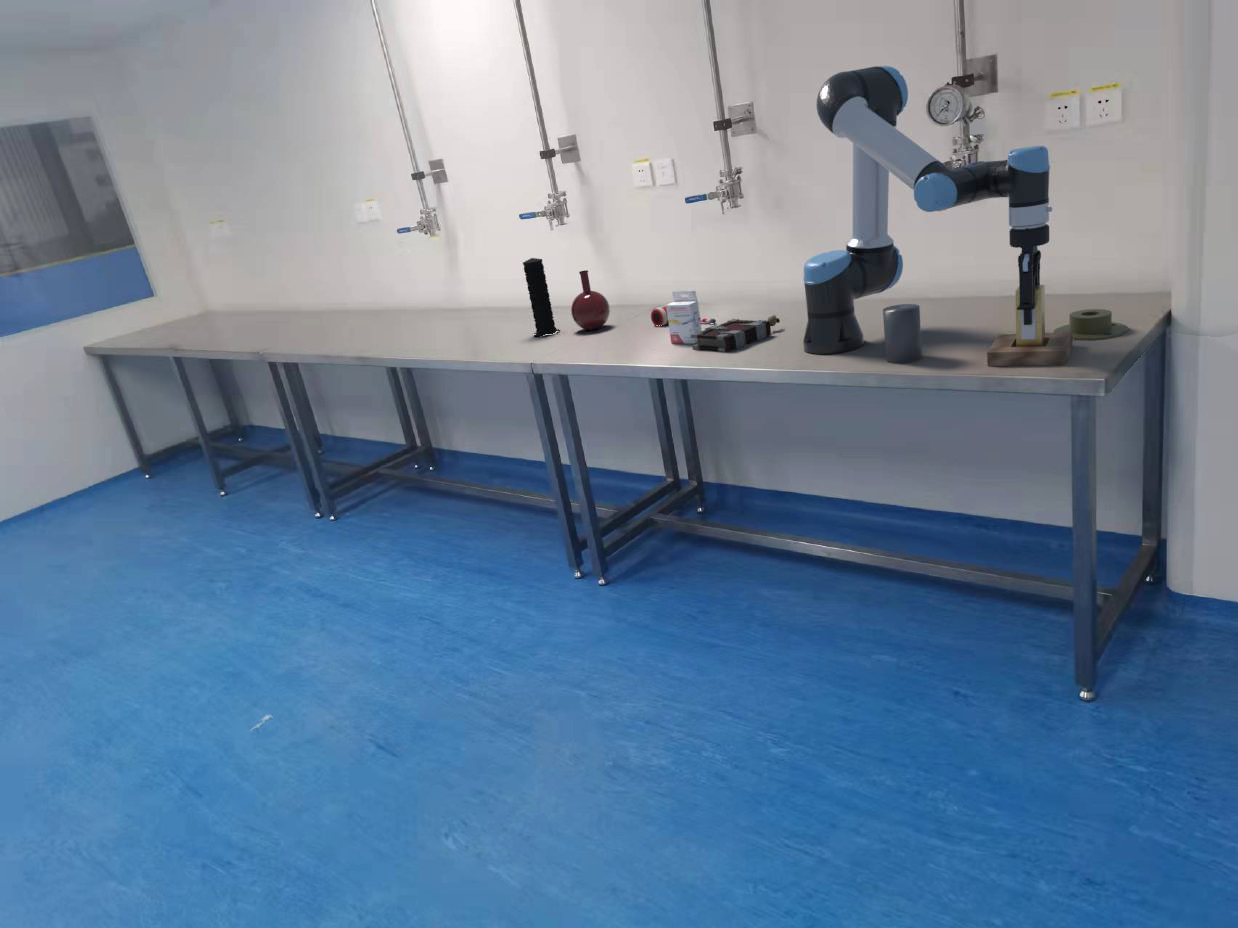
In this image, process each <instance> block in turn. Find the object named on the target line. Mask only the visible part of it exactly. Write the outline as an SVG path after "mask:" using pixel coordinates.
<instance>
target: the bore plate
mask: <svg viewBox="0 0 1238 928" xmlns="http://www.w3.org/2000/svg"><path fill="white" fill-rule="evenodd" d="M1073 342H1074V340H1073V332H1061V333H1054V332H1045V341H1044V343H1043V345H1042V346H1020V347H1016V333H1013V334H1012V333H1008V334H1007V333H1006V334H1005V333H1004V334H998V335H997V337H996V338H995V340H994V341H993V343H992V344H991V346H990V347H989V349H988V351H987V353H986V356H987V357H986V358H987V359H986V361H987V365H986V366H987V367H1005V366H1006V367H1009V366H1011V367H1013V366H1015V367H1016V366H1024V367H1025V366H1066V364H1065V363H1067V361H1068V359H1067V358H1069V356H1070V354H1071V351H1072V348H1073V346H1074V345H1073ZM1072 345H1073V346H1072ZM1070 350H1071V351H1070ZM1068 355H1069V356H1068Z"/></svg>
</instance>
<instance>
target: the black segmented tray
mask: <svg viewBox="0 0 1238 928" xmlns="http://www.w3.org/2000/svg"><path fill="white" fill-rule="evenodd" d="M780 321H781V320H780V318H778V317H777V315H776V314H774V315H770V316H769V317H768V318H767V320H765V319H759V320H752V319H751V320H747V319H745V320H744V319H739V318H738V319H737V318H731V319H729V320H727V322H723V323H721V324H713V325H711V326H709V327H708V326H707V327H705V328H704V330H702V331H701V332H696V333H693V334H691V338H697V341H698V342H697V343H695V344H693V345H692V346H691V347H692V350H693V351H694V350H696V351H697V350H698V351H699V350H705V351H706V350H707V351H718V352H719V353H720V352H721V353H723V352H724V353H726V352H731V351H734V350H739V349H741V348H744V347H745V346H747V345H749V344H752V343H754V342H759V341H762V340H765V338H767V337H768V336H771V334H772V333H771V332H772V329H771V327H774V326H776V324H778V323H780ZM761 339H762V340H761Z"/></svg>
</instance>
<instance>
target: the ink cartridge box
mask: <svg viewBox="0 0 1238 928" xmlns="http://www.w3.org/2000/svg"><path fill="white" fill-rule="evenodd" d="M683 295H685V296H683ZM687 295H688V296H687ZM672 298H673V302H670V303H668V304H666V305H665V307H666V309H667V316H668V323H667V324H668V328H669V329H668V331H669V335H670V336H669V337H670V343H671V344H676V345H677V344H698V341H697V338H691V334H693V333H696V332H701V331H703V330H702V322H701V321H700V318H701V315H700V308H699V301H698V297H697V292H696V290H680V291H679V290H677V291H675V290H674V291H672Z"/></svg>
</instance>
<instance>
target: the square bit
mask: <svg viewBox="0 0 1238 928" xmlns="http://www.w3.org/2000/svg"><path fill="white" fill-rule="evenodd" d="M1045 287H1046V286H1045V284H1040V285H1035V297H1034V305H1035V307H1034V308H1036V339H1022V340H1021V310H1017V307H1019V305H1020V290H1019V286H1018V287H1017V289H1015V334H1016V347H1020V346H1042V345H1043V343H1044V341H1045V333H1046V322H1045V321H1046V320H1045V319H1046V317H1045V316H1046V315H1045V314H1046V309H1045V308H1046V305H1045V296H1046V295H1045V294H1046V293H1045V289H1046V288H1045ZM1026 303H1028V302H1026Z"/></svg>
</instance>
